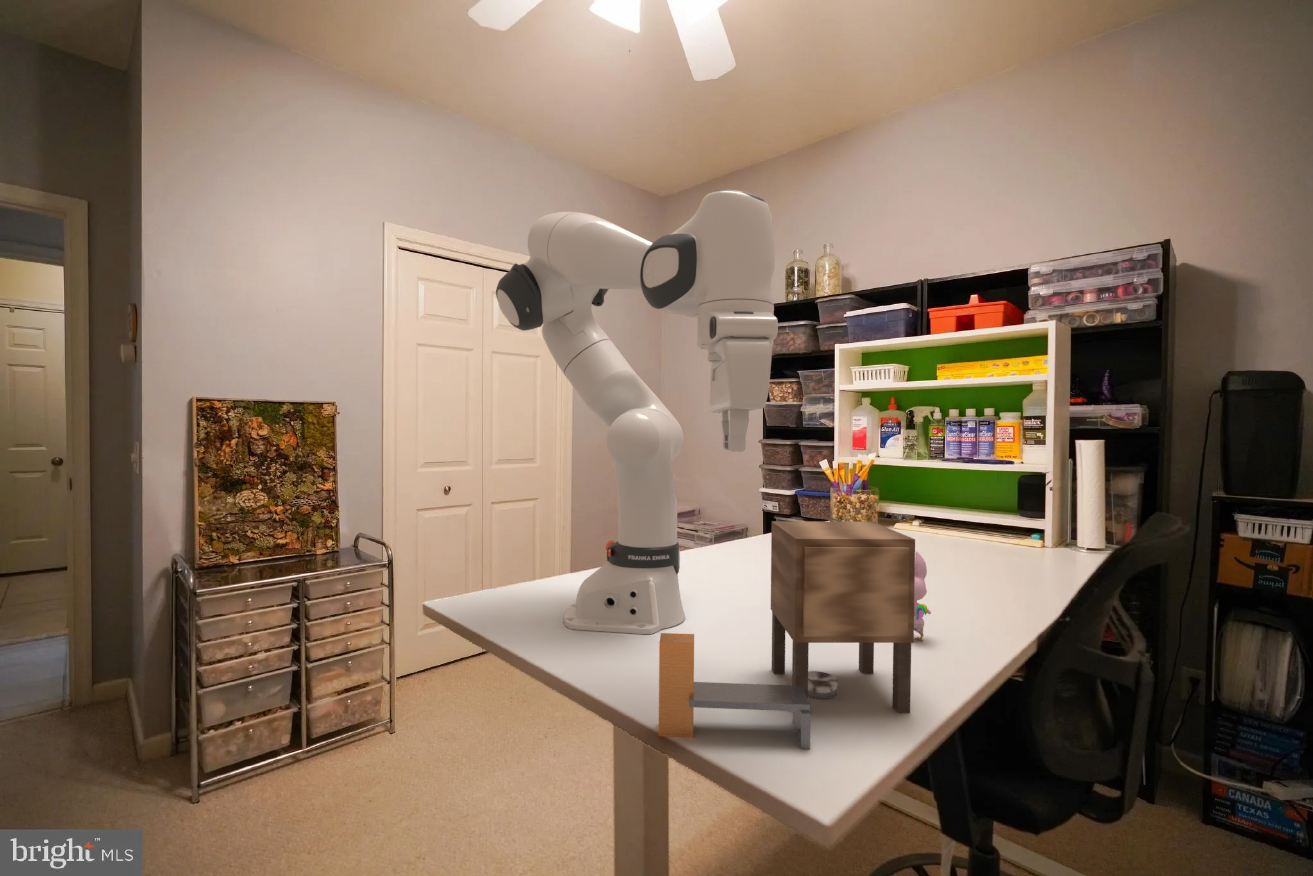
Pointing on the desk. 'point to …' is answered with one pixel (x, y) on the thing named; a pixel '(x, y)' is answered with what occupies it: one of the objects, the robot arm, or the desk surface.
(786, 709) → the tan and grey bench
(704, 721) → the desk surface
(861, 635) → the cabinet
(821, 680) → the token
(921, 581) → the rabbit figure
